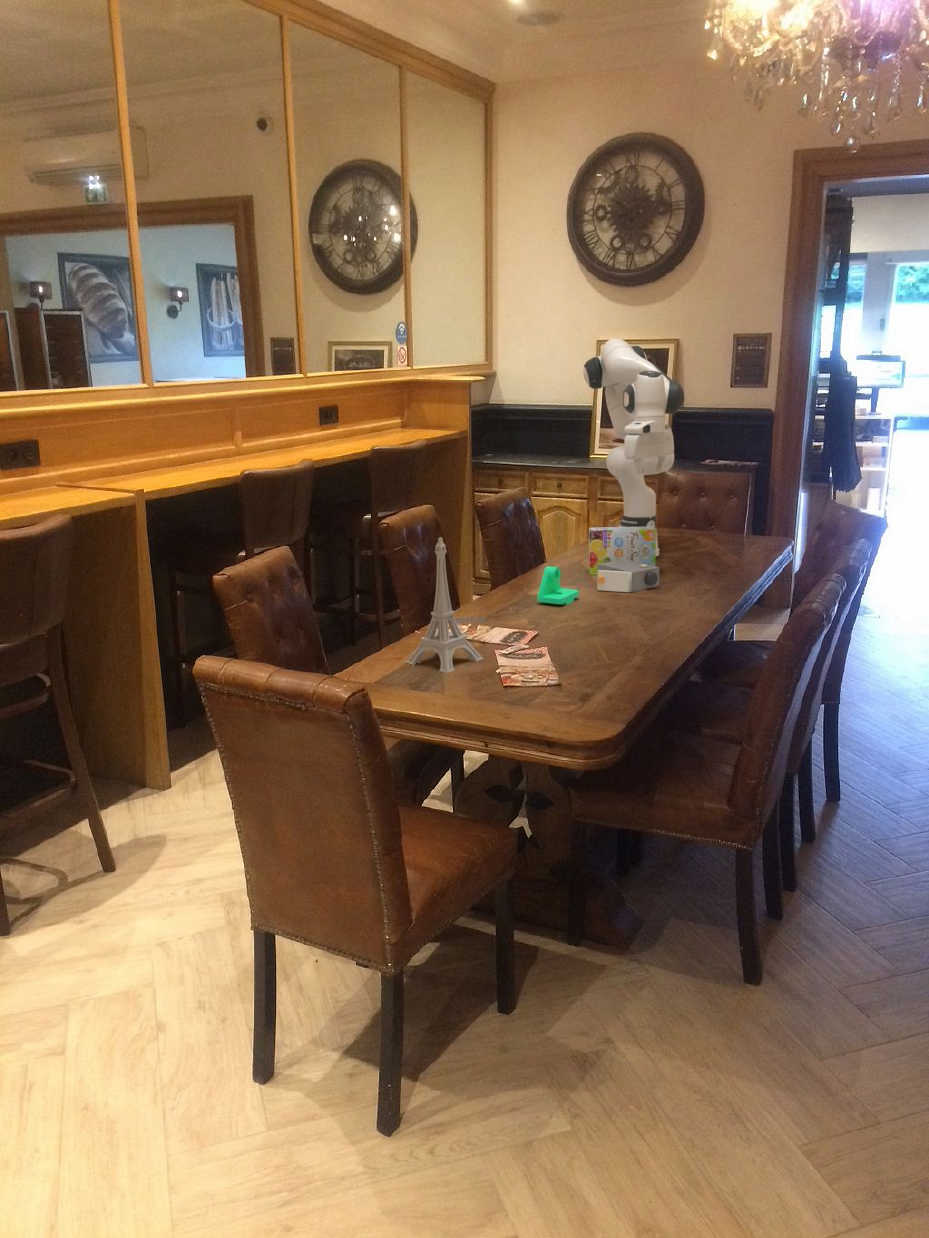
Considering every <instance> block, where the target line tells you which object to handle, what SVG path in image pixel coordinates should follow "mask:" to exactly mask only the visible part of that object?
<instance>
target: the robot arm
mask: <svg viewBox="0 0 929 1238" xmlns="http://www.w3.org/2000/svg"><path fill="white" fill-rule="evenodd" d="M600 353H601V354H600V355H598V356H594V357H592V358H590V359H588V360H586V361H585V364H584V365H583V371H582V372H583V378H584V380H585V382H586V384H587V385H588V387H589V388H590V389H593V390H599V389H602V388H605V389H604V394H605V395H604V396H605V402H606V408H607V411H608V414H609V418H610V420H611V424H612V427H613V430H614V433H615V435H616V436H617V437H618V438H620V439H622V440H624V441H623V443H624V444H622V445H618V446H616V447H613V448H611V449H610V450H609V451H608V453H607V455H606V460H605V463H606V468H607V471H608V472H609V473H610V474H611V475H612V476H613V477H614V478H616V480H617V481H618V484H619V485H620V488H621V491H622V497H623V514H622V515H620V516H618V519H617V521H618V520H620V522H619V525H618V526H617V527H655V529H656V557H659V556H660V552H659V551H660V548H659V542H658V540H659V539H658V531H657V528H656V527H657V526H658V525H657V523H658V519H657V514H656V512H657V511H656V509H657V508H656V507H657V506H656V504H657V494H656V492H655V491H654V489H652V488H651V487H649V486H647V485H646V482H645V476H649V475H651V476H652V475H657V474H662V473H665V472H666V471H669V470H671V468H672V467H673V465H674V462H675V452H674V451H675V444H674V443H675V441H674V433H673V432H672V428H671V426H670V425H668V424H666V415H675V414H676V413H677V412H679V410H680V409H681V408H682V407H683V405H684V403H685V393H684V392H685V391H684V388H683V387H682V385H681V384H680V383H679V382H678V381H677V380H673V379H671V377H669V376H668V375H667V374H666V372H664V371H663V370H662V369H661V368H660V367H659V366H658V365H656V364H654V363H653V362H651V361H649V360H648V357H647V355H646V353H645V350H644V349H643V348H642V347H641V346H640V345H630V344H629V343H628V342H627V341H625V340H624V339H622V338H619V337H615V338H614V337H613V338H611V339H608V340H607V341H606V342H604V344H603V345H602V348H601V352H600Z"/></svg>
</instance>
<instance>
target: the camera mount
mask: <svg viewBox="0 0 929 1238" xmlns="http://www.w3.org/2000/svg"><path fill="white" fill-rule="evenodd" d="M560 579H561V569H560V568H559V567H557V566H550V565H549V566H546V567H545V568H544V570H543V574H542V578H541V582H540V586H539V587H538V588H539V589H538V592H537V599H536V601H537V602H538V603H544V604H545V603H546V604H552V605H565V606H568V605H569V604H572V603H573V601H574V602H575V599H576V598H577V597H579V590H577V589H570V588H562V586H561V583H560ZM571 602H572V603H571Z"/></svg>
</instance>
